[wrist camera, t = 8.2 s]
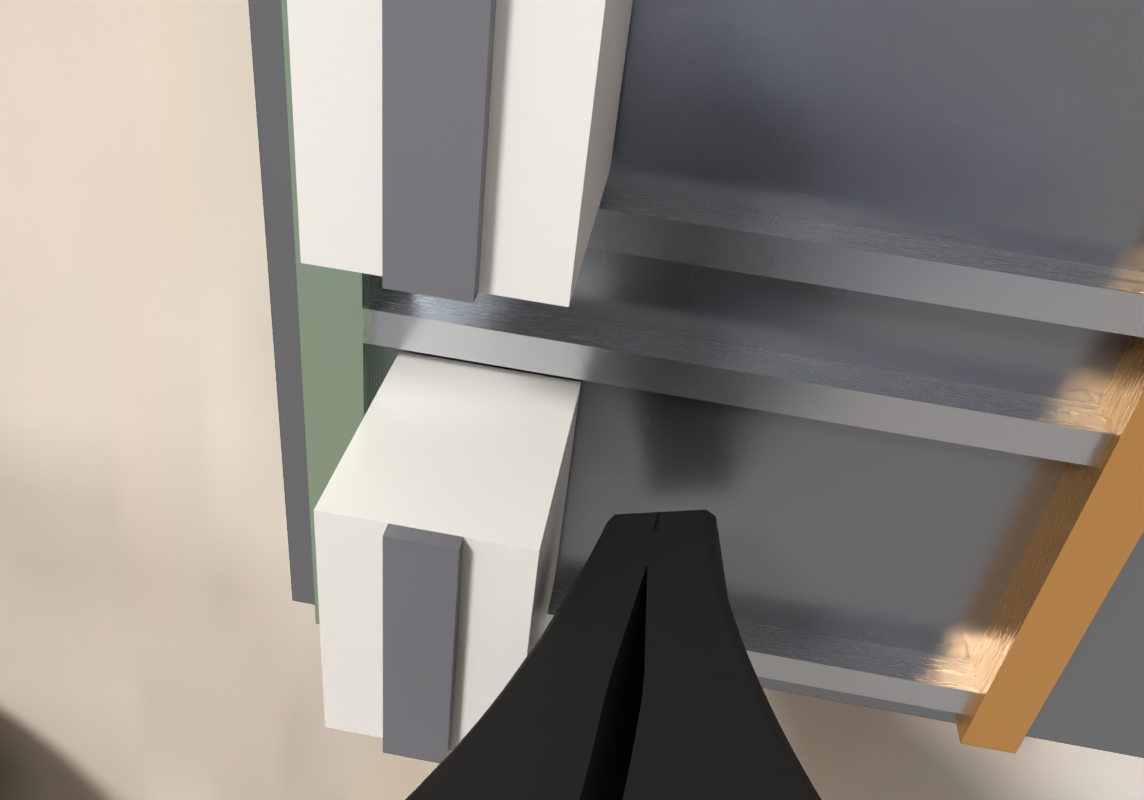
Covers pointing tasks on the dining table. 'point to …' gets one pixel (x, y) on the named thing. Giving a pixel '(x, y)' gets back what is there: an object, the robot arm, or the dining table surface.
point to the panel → (826, 344)
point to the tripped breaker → (440, 548)
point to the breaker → (455, 139)
